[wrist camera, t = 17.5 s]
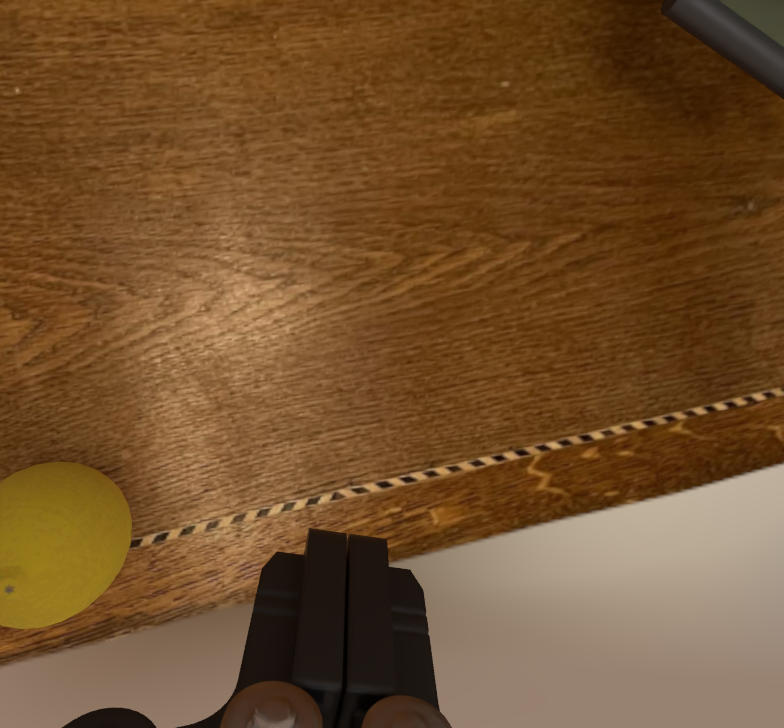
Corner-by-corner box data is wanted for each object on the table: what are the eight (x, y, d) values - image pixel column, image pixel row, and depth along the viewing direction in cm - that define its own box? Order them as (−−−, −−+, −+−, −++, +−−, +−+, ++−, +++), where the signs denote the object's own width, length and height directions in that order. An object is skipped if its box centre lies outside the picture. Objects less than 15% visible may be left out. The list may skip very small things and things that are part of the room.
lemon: (61, 588, 28) (-18, 706, 20) (-18, 485, 27) (-134, 568, 19) (173, 519, 29) (138, 608, 21) (100, 416, 27) (34, 469, 20)
